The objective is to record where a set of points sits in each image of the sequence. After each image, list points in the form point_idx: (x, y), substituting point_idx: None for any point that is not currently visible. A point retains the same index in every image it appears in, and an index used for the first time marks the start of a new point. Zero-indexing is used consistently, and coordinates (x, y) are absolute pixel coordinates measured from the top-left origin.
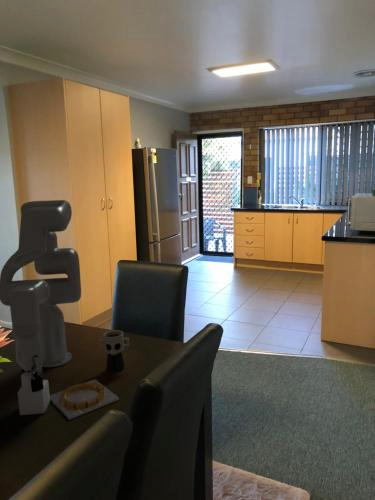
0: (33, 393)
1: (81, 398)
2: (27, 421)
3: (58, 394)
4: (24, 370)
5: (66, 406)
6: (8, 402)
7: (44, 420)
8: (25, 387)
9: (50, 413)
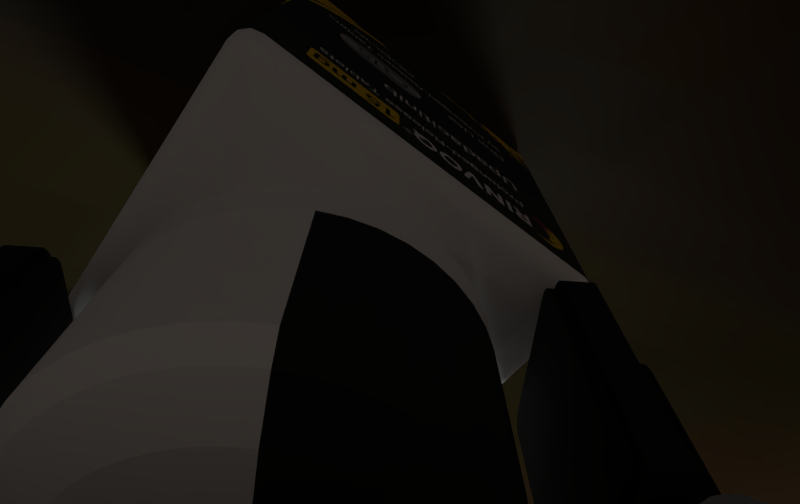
0: (102, 245)
1: None
2: (120, 4)
3: None
4: (602, 489)
5: None
6: (729, 2)
7: (36, 149)
8: (185, 213)
9: None
